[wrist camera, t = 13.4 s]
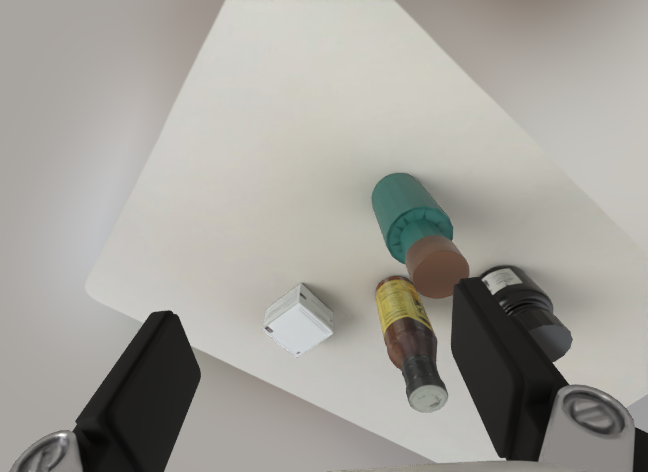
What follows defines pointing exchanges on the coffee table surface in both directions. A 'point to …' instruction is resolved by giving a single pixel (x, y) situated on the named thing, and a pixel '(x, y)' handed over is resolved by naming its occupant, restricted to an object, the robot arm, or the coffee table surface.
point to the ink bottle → (529, 308)
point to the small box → (298, 321)
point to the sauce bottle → (411, 343)
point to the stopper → (435, 266)
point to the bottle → (407, 214)
